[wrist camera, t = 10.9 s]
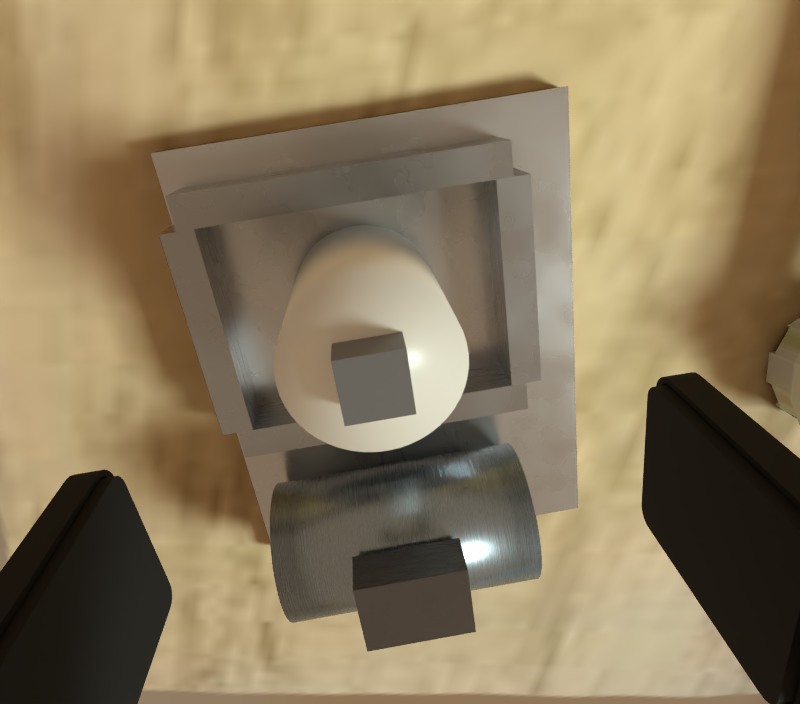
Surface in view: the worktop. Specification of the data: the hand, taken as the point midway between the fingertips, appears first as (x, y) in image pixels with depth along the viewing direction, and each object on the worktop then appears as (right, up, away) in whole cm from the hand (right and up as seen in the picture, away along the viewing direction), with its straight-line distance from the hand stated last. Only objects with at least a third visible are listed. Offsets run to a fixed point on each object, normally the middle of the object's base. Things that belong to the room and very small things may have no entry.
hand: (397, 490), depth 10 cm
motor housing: (0, +2, +15) cm, 15 cm away
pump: (-1, +5, +13) cm, 14 cm away
